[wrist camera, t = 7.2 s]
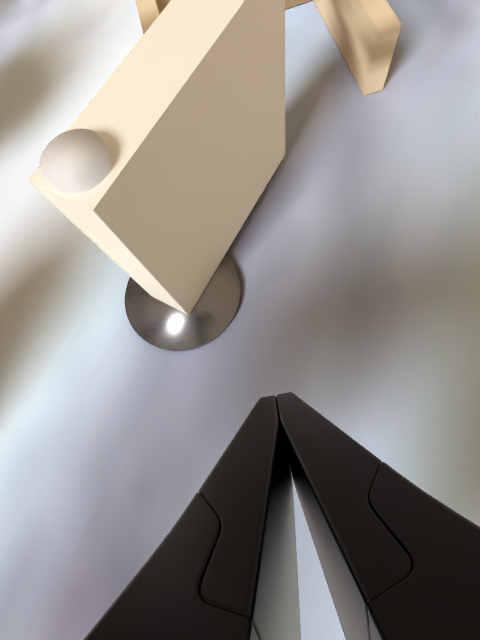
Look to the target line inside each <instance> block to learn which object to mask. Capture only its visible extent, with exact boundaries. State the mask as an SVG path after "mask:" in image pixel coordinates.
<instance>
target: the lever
mask: <svg viewBox="0 0 480 640" xmlns="http://www.w3.org/2000/svg"><path fill="white" fill-rule="evenodd" d="M284 156H285V0H171V1H170V2H169V3H168V5H167V6H166V7H165V8H164V10H163V11H162V12H161V14H160V15H159V16H158V17H157V19H156V20H155V21H154V22H153V24H152V25H151V26H150V27H149V29H148V30H147V31H146V32H145V34H144V35H143V36H142V38H141V39H140V40H139V41H138V43H137V44H136V45H135V46H134V48H133V49H132V50H131V51H130V53H129V54H128V55H127V56H126V58H125V59H124V60H123V61H122V63H121V64H120V65H119V67H118V68H117V69H116V70H115V72H114V73H113V74H112V75H111V77H110V78H109V79H108V80H107V82H106V83H105V84H104V85H103V87H102V88H101V89H100V90H99V92H98V93H97V94H96V96H95V97H94V98H93V99H92V101H91V102H90V103H89V104H88V106H87V107H86V108H85V109H84V111H83V112H82V113H81V114H80V116H79V117H78V118H77V120H76V121H75V122H74V123H73V125H72V126H71V127H70V128H69V130H68V131H66V132H64V133H62V134H60V135H59V136H57V137H56V138H54V139H53V140H52V141H51V142H50V143H49V144H48V145H47V146H46V148H45V149H44V151H43V153H42V155H41V159H40V166H39V167H38V169H37V170H36V171H35V172H34V174H33V175H32V176H31V178H30V179H29V180H28V181H29V182H30V183H31V184H32V185H33V186H34V187H35V188H36V189H37V190H38V191H39V192H40V193H41V194H42V195H44V196H45V197H46V198H47V199H48V200H49V201H50V202H51V203H52V204H53V205H54V206H55V207H56V208H57V209H59V210H60V211H61V212H62V213H63V214H64V215H65V216H66V217H67V218H68V219H69V220H70V221H71V222H72V223H74V224H75V225H76V226H77V227H78V228H79V229H80V230H81V231H82V232H83V233H84V234H85V235H86V236H87V237H89V238H90V239H91V240H92V241H93V242H94V243H95V244H96V245H97V246H98V247H99V248H100V249H101V250H102V251H104V252H105V253H106V254H107V255H108V256H109V257H110V258H111V259H112V260H113V261H114V262H115V263H116V264H118V265H119V266H120V267H121V268H122V269H123V270H124V271H125V272H126V273H127V274H128V275H129V276H130V277H131V278H133V279H134V280H135V281H136V282H137V283H138V284H139V285H140V286H141V287H142V288H143V289H144V290H145V291H146V292H148V293H149V294H150V295H151V296H152V297H154V298H156V299H158V300H160V301H162V302H164V303H166V304H168V305H170V306H172V307H174V308H175V309H177V310H179V311H181V312H183V313H185V314H187V315H189V314H190V312H191V311H192V309H193V307H194V306H195V304H196V302H197V301H198V299H199V297H200V296H201V294H202V292H203V291H204V289H205V287H206V286H207V284H208V282H209V281H210V279H211V277H212V276H213V274H214V272H215V271H216V269H217V267H218V266H219V264H220V262H221V261H222V259H223V257H224V256H225V254H226V252H227V251H228V249H229V247H230V246H231V244H232V242H233V241H234V239H235V237H236V236H237V234H238V232H239V231H240V229H241V227H242V226H243V224H244V222H245V221H246V219H247V217H248V216H249V214H250V212H251V211H252V209H253V207H254V206H255V204H256V202H257V201H258V199H259V197H260V196H261V194H262V192H263V191H264V189H265V187H266V186H267V184H268V182H269V181H270V179H271V177H272V176H273V174H274V172H275V171H276V169H277V167H278V166H279V164H280V162H281V161H282V159H283V157H284Z"/></svg>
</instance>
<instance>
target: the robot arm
mask: <svg viewBox="0 0 480 640" xmlns="http://www.w3.org/2000/svg"><path fill="white" fill-rule="evenodd" d="M289 463H290V464H289ZM290 468H291V469H290ZM291 472H292V475H291ZM292 477H293V481H294V484H295V488H296V491H297V494H298V497H299V500H300V503H301V506H302V509H303V512H304V515H305V518H306V521H307V524H308V527H309V530H310V533H311V536H312V539H313V542H314V545H315V548H316V551H317V554H318V557H319V560H320V563H321V566H322V569H323V572H324V575H325V578H326V581H327V584H328V587H329V590H330V593H331V596H332V599H333V602H334V605H335V608H336V611H337V614H338V617H339V620H340V623H341V626H342V629H343V632H344V635H345V638H346V640H480V527H479V526H477V525H476V524H474V523H473V522H471V521H469V520H468V519H466V518H464V517H463V516H461V515H460V514H458V513H456V512H455V511H453V510H452V509H450V508H449V507H447V506H446V505H444V504H443V503H441V502H439V501H438V500H436V499H435V498H433V497H432V496H430V495H429V494H427V493H426V492H424V491H423V490H421V489H420V488H418V487H417V486H416V485H414V484H413V483H412V482H410V481H409V480H407V479H406V478H405V477H403V476H402V475H400V474H399V473H398V472H396V471H395V470H394V469H392V468H391V467H390V466H388V465H387V464H386V463H384V462H382V461H381V460H380V459H378V458H377V457H376V456H374V455H373V454H372V453H371V452H369V451H368V450H367V449H365V448H364V447H363V446H361V445H360V444H359V443H357V442H356V441H355V440H354V439H352V438H351V437H350V436H348V435H347V434H346V433H344V432H343V431H342V430H340V429H339V428H338V427H337V426H335V425H334V424H333V423H331V422H330V421H329V420H327V419H326V418H325V417H323V416H322V415H321V414H320V413H318V412H317V411H316V410H314V409H313V408H312V407H310V406H309V405H308V404H306V403H305V402H304V401H303V400H301V399H300V398H299V397H297V396H296V395H295V394H293V393H291V392H289V393H283V394H279V395H277V397H275V396H267V397H262V398H260V399H259V400H258V402H257V403H256V405H255V406H254V408H253V409H252V411H251V412H250V414H249V415H248V417H247V418H246V420H245V422H244V423H243V425H242V426H241V428H240V429H239V431H238V432H237V434H236V435H235V437H234V438H233V440H232V441H231V443H230V444H229V446H228V447H227V449H226V450H225V452H224V453H223V455H222V456H221V458H220V459H219V461H218V462H217V464H216V465H215V467H214V468H213V470H212V472H211V473H210V475H209V476H208V478H207V479H206V481H205V482H204V484H203V485H202V487H201V488H200V490H199V493H196V495H195V496H194V498H193V499H192V501H191V502H190V504H189V505H188V507H187V508H186V510H185V511H184V513H183V514H182V515H181V517H180V518H179V520H178V521H177V523H176V524H175V525H174V527H173V528H172V530H171V531H170V532H169V534H168V535H167V536H166V538H165V539H164V540H163V541H162V543H161V544H160V545H159V547H158V548H157V549H156V550H155V552H154V553H153V554H152V556H151V557H150V558H149V559H148V561H147V562H146V563H145V564H144V566H143V567H142V568H141V569H140V571H139V572H138V573H137V574H136V576H135V577H134V578H133V579H132V581H131V582H130V583H129V584H128V585H127V587H126V588H125V589H124V590H123V592H122V593H121V594H120V595H119V597H118V598H117V599H116V600H115V602H114V603H113V604H112V605H111V606H110V608H109V609H108V610H107V611H106V613H105V614H104V615H103V616H102V618H101V619H100V620H99V621H98V623H97V624H96V625H95V626H94V628H93V629H92V630H91V631H90V632H89V634H88V635H87V636H86V637H85V639H84V640H301V628H300V609H299V591H298V572H297V554H296V535H295V516H294V498H293V483H292Z"/></svg>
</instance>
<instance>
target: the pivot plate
mask: <svg viewBox="0 0 480 640" xmlns="http://www.w3.org/2000/svg"><path fill="white" fill-rule="evenodd" d="M240 297H241V286H240V280H239V276H238V273H237V270H236V268H235V266H234V264H233V262H232V261H231V259H230V258H229V257H228V256H227V255H226V254H225V256H224V257H223V259H222V261H221V262H220V264H219V266H218V267H217V269H216V271H215V272H214V274H213V276H212V277H211V279H210V281H209V282H208V284H207V286H206V287H205V289H204V291H203V292H202V294H201V296H200V297H199V299H198V301H197V302H196V304H195V306H194V307H193V309H192V311H191V312H190V314H189V315H187V314H185V313H183V312H181V311H179V310H177V309H175V308H174V307H172V306H170V305H168V304H166V303H164V302H162V301H160V300H158V299H156V298H154V297H152V296H151V295H150V294H149V293H148V292H146V291H145V290H144V289H143V288H142V287H141V286H140V285H139V284H138V283H137V282H136V281H135V280H134V279H133V278H131V277H130V279H129V281H128V284H127V288H126V293H125V308H126V313H127V317H128V319H129V322H130V324H131V325H132V327H133V329H134V330H135V331H136V332H137V334H138V335H139V336H140V337H142V338H143V339H144V340H145V341H147V342H148V343H150V344H152V345H154V346H156V347H158V348H161V349H165V350H170V351H187V350H192V349H196V348H199V347H201V346H204V345H206V344H208V343H209V342H211V341H213V340H214V339H216V338H217V337H218V336H219V335H220V334H221V333H223V332H224V331H225V329H226V328H227V327H228V326H229V325H230V323H231V321H232V320H233V318H234V316H235V314H236V312H237V309H238V306H239V302H240Z"/></svg>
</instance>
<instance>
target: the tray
mask: <svg viewBox="0 0 480 640" xmlns="http://www.w3.org/2000/svg"><path fill="white" fill-rule="evenodd" d="M170 1H171V0H136V4H137V9H138V13H139V17H140V21H141V25H142V29H143V34H145V32H146V31H147V30H148V29H149V27H150V26H151V25H152V24H153V22H154V21H155V20H156V19H157V17H158V16H159V15H160V14H161V12H162V11H163V10H164V8H165V7H166V6H167V5H168V3H169V2H170ZM309 1H312V0H285V9H288V8H291V7H294V6H297V5H300V4H303V3H306V2H309ZM313 1H314V3H315V5H316V7H317V9H318V11H319V13H320V14H321V16H322V18H323V20H324V22H325V24H326V26H327V28H328V29H329V31H330V33H331V35H332V37H333V39H334V41H335V43H336V45H337V46H338V48H339V50H340V52H341V54H342V56H343V58H344V60H345V61H346V63H347V65H348V67H349V69H350V71H351V73H352V75H353V77H354V78H355V80H356V82H357V84H358V86H359V88H360V90H361V92H362V93H363V95H364V96H365V95H368V94H371V93H374V92H377V91H380V90H383V87H384V83H385V80H386V77H387V73H388V70H389V66H390V63H391V60H392V56H393V53H394V49H395V46H396V43H397V39H398V36H399V32H400V29H401V26H402V24H401V23H400V21H399V19H398V18H397V16H396V15H395V13H394V12H393V10H392V9H391V7H390V6H389V4H388V3H387V1H386V0H313Z"/></svg>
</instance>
